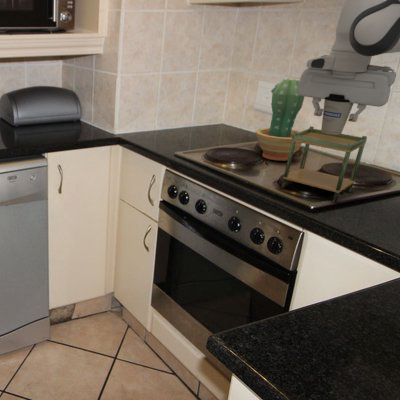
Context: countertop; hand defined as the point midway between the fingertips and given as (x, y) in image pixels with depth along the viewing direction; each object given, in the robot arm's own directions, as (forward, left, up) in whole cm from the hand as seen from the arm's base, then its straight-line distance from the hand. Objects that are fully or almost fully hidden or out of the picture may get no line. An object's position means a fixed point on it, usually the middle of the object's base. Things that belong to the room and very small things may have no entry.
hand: (334, 118), depth 123 cm
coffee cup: (0, 0, -4) cm, 4 cm away
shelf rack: (0, 0, -20) cm, 20 cm away
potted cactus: (+20, -22, -20) cm, 36 cm away
